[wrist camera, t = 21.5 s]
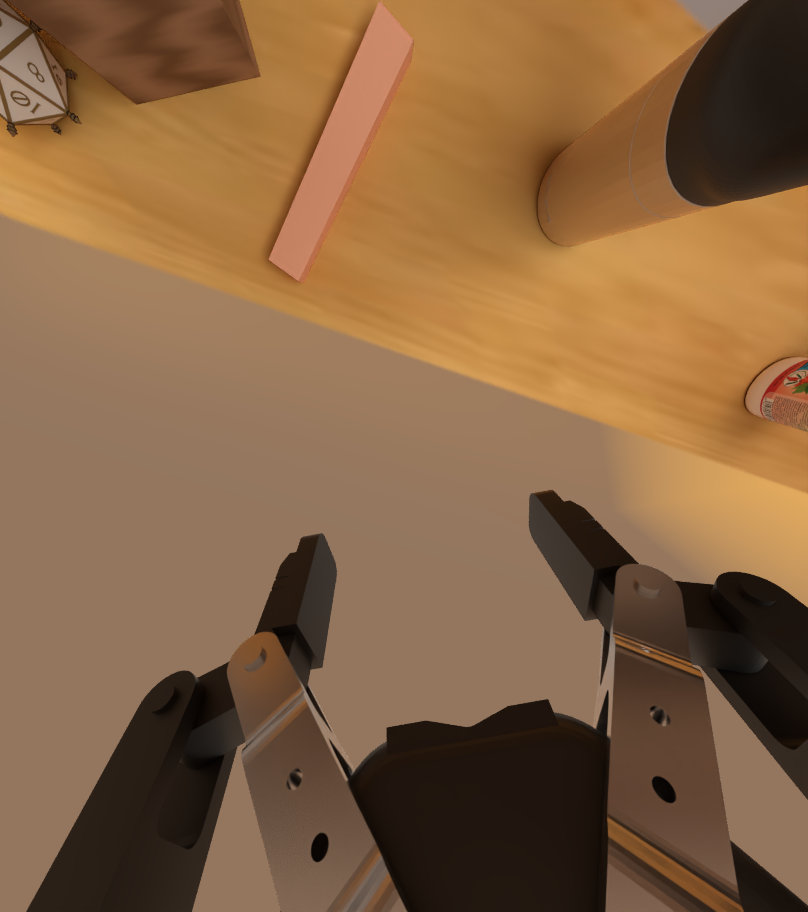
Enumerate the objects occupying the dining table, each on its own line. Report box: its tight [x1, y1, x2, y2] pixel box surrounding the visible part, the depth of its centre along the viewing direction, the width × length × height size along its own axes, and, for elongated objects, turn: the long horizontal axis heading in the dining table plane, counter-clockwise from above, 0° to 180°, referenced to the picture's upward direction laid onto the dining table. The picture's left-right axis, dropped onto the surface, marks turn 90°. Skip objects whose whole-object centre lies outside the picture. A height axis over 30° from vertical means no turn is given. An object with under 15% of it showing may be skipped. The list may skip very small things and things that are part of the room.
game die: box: [0, 0, 82, 137], centre depth 24 cm, size 9×8×10 cm
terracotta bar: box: [268, 1, 414, 282], centre depth 30 cm, size 4×22×3 cm, turn 145°
